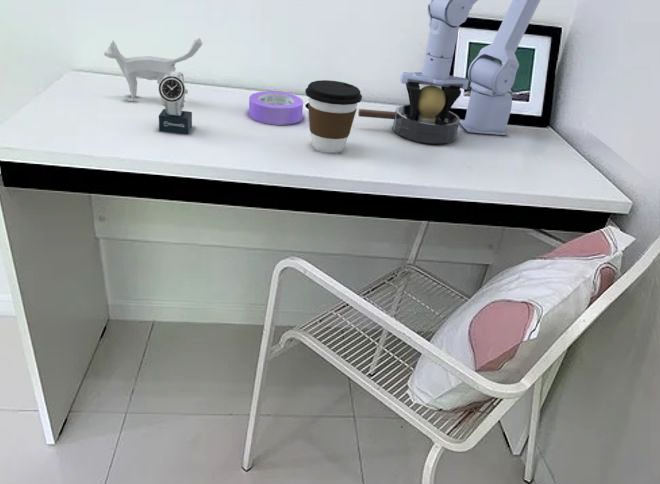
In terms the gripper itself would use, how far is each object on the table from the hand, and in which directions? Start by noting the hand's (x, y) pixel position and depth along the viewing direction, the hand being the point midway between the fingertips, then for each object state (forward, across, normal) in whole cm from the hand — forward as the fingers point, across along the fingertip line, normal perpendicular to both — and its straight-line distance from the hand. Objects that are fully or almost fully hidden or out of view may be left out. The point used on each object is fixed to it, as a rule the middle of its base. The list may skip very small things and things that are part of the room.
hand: (426, 118), depth 140 cm
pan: (+4, 0, 0) cm, 4 cm away
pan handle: (+1, -11, 0) cm, 11 cm away
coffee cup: (+4, -23, -13) cm, 27 cm away
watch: (+4, -53, -9) cm, 54 cm away
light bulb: (+3, 0, 0) cm, 3 cm away
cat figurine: (+4, -59, +8) cm, 60 cm away
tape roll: (+4, -33, +4) cm, 33 cm away
